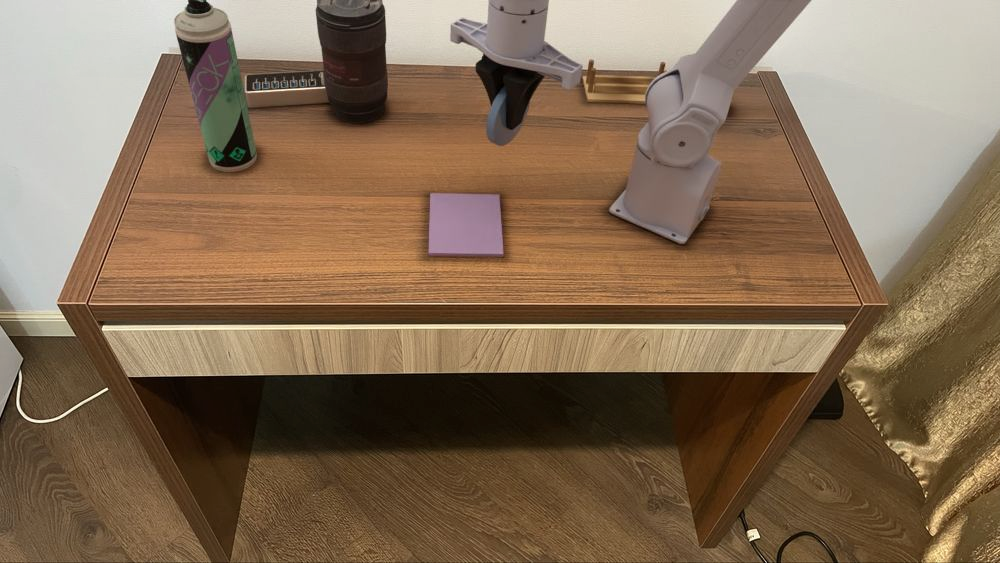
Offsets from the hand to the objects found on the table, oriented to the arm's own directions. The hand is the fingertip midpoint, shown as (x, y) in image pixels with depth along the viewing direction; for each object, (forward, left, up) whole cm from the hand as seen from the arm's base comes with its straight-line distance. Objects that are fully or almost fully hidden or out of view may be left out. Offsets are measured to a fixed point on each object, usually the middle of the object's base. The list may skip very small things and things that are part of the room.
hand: (508, 122), depth 81 cm
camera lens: (+24, -3, -10) cm, 27 cm away
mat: (0, +7, -10) cm, 12 cm away
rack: (-2, -29, -10) cm, 31 cm away
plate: (0, 0, +1) cm, 1 cm away
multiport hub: (+33, 0, -10) cm, 35 cm away
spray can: (+29, +14, -10) cm, 34 cm away
